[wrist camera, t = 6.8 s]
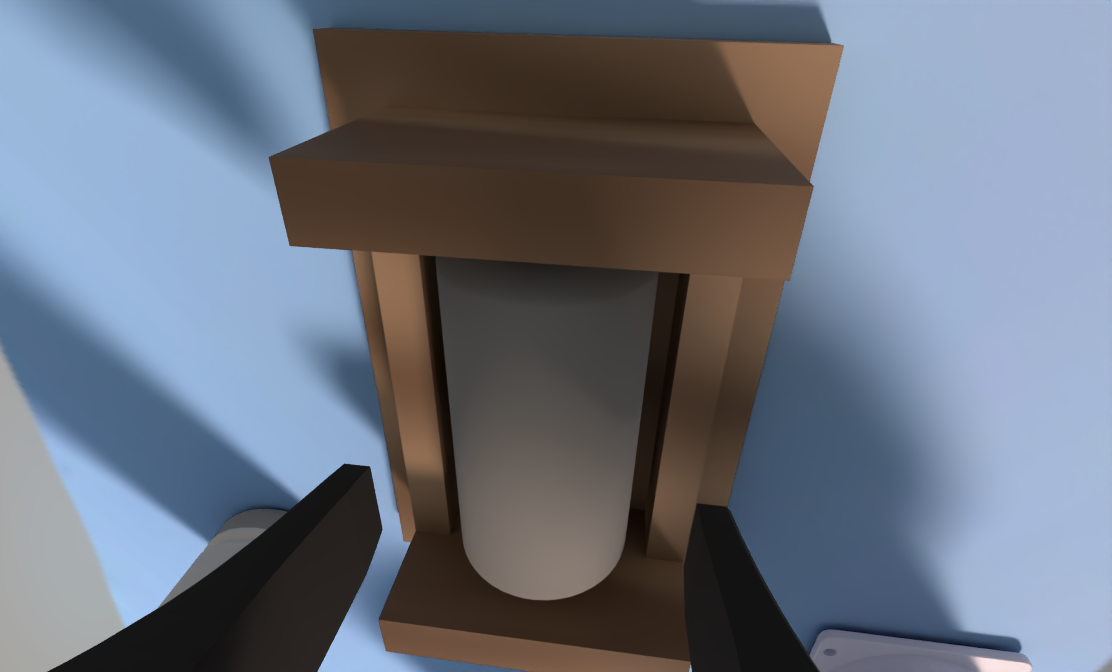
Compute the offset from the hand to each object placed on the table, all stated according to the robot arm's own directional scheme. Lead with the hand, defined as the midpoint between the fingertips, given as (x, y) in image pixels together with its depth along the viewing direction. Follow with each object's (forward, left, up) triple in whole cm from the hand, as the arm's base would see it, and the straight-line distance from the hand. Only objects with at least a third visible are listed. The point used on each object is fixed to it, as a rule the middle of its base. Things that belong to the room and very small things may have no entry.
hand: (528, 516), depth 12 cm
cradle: (0, 0, -7) cm, 7 cm away
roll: (0, 0, -6) cm, 6 cm away
